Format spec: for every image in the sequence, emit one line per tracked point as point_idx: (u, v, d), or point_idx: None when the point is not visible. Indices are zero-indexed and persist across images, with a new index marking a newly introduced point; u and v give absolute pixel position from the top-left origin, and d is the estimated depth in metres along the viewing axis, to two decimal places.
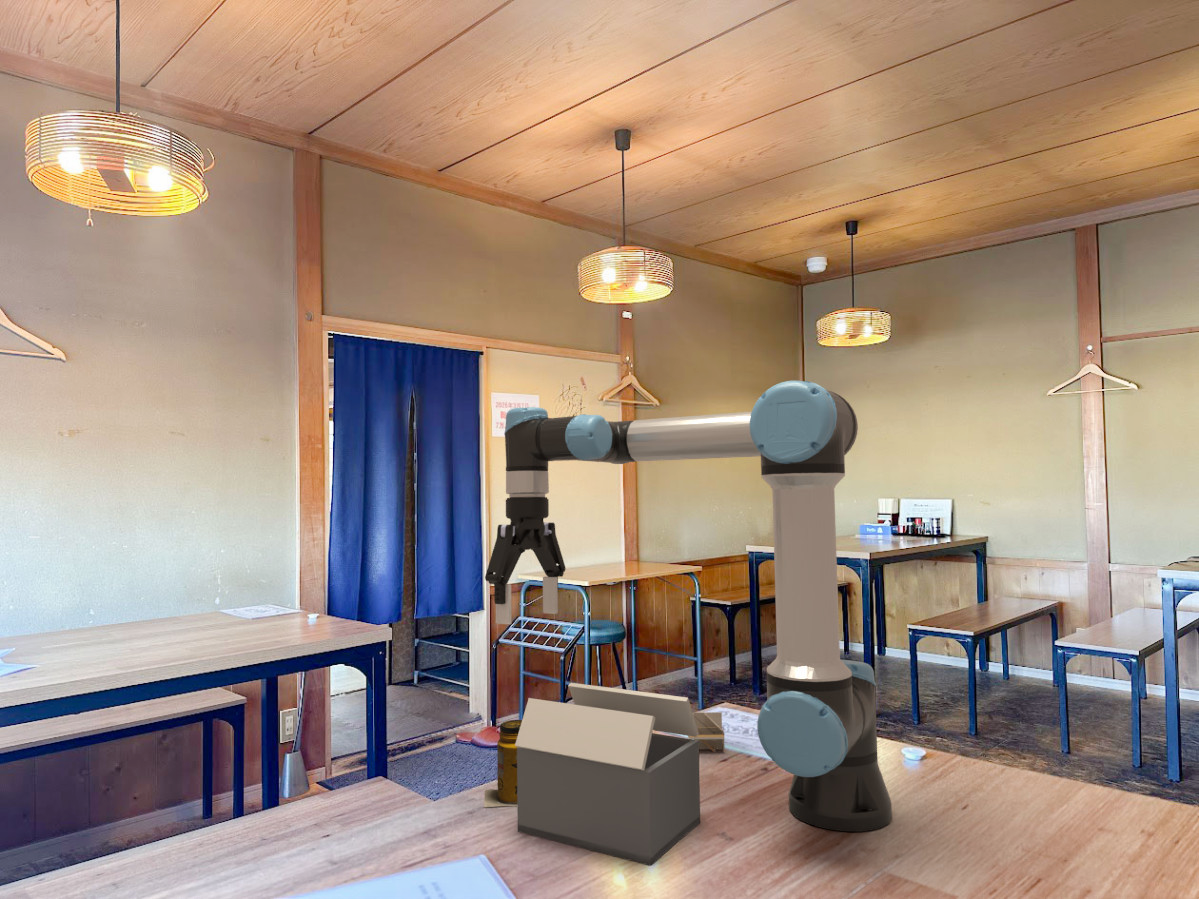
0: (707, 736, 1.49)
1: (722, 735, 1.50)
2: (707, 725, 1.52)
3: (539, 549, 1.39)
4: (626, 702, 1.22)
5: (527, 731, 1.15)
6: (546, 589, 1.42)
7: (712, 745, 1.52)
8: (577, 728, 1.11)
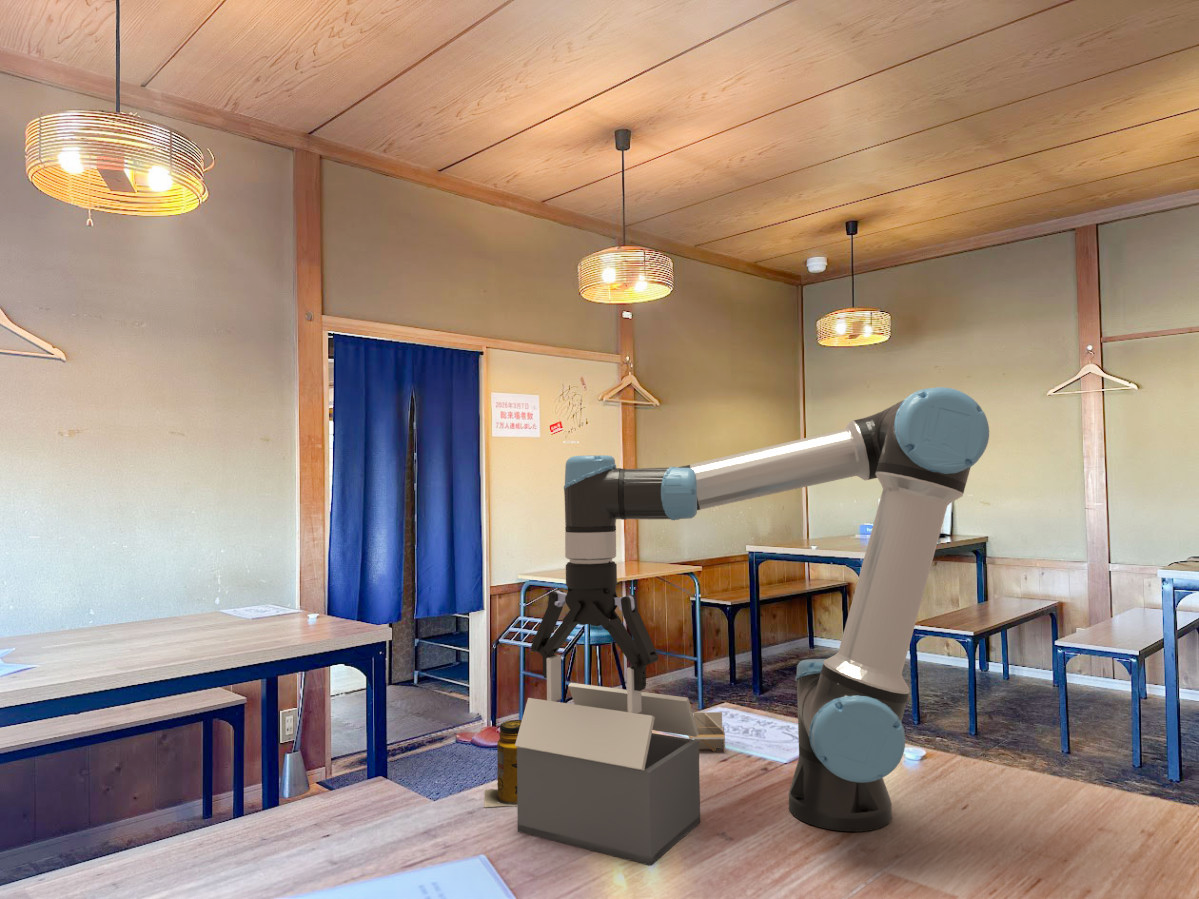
0: (708, 736, 1.49)
1: (722, 735, 1.50)
2: (707, 725, 1.52)
3: None
4: (626, 702, 1.22)
5: (527, 731, 1.15)
6: None
7: (712, 745, 1.52)
8: (577, 728, 1.11)
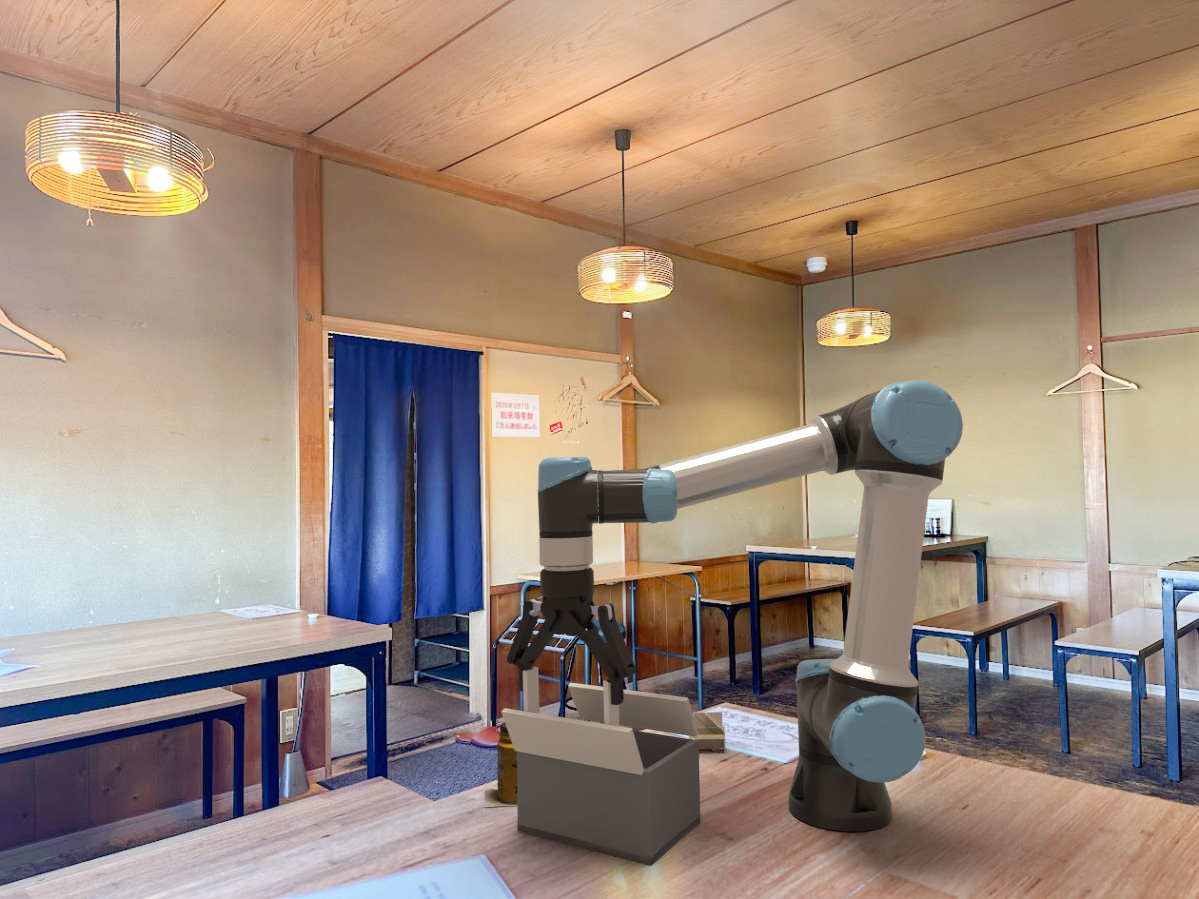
0: (708, 736, 1.49)
1: (723, 735, 1.50)
2: (708, 725, 1.52)
3: None
4: (626, 702, 1.22)
5: (518, 740, 1.13)
6: None
7: (712, 745, 1.52)
8: (563, 739, 1.08)
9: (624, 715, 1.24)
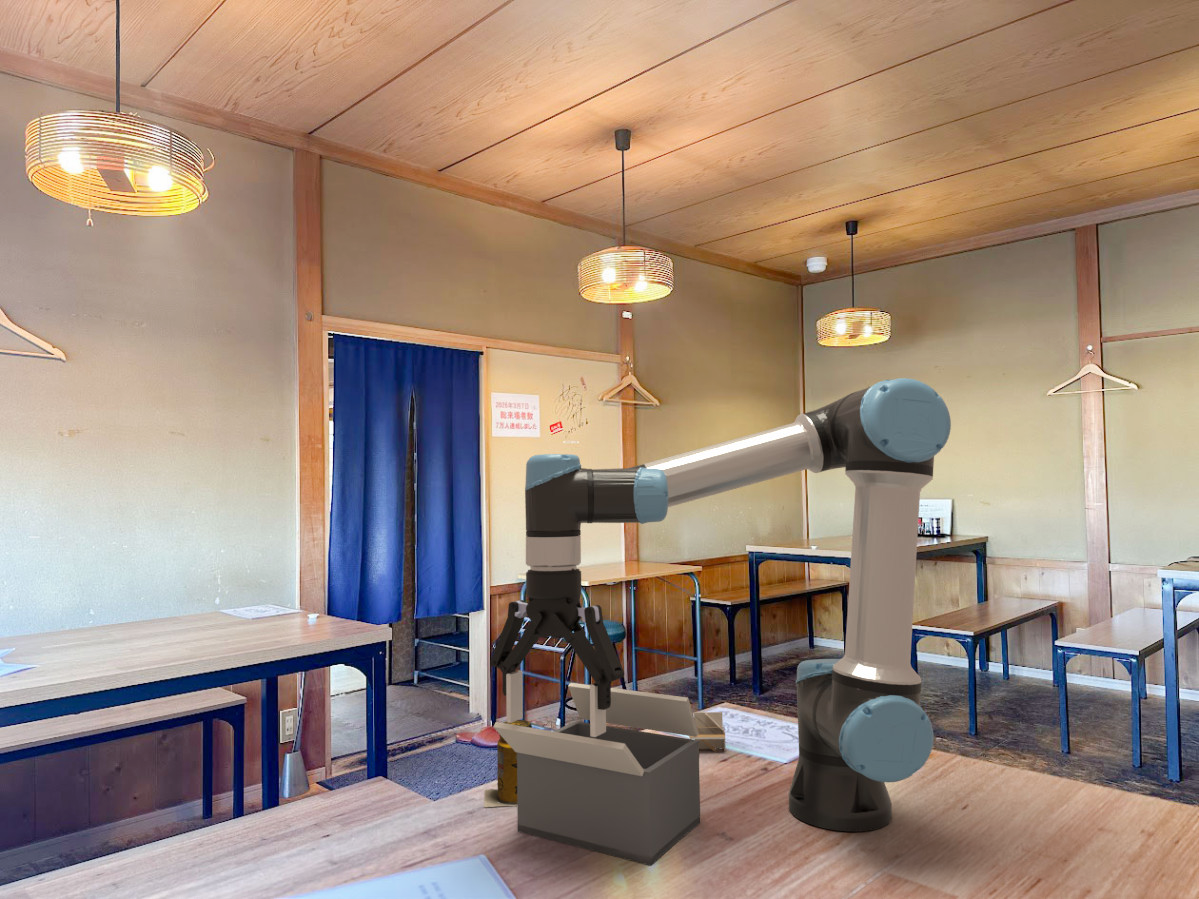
0: (708, 736, 1.49)
1: (723, 735, 1.50)
2: (708, 725, 1.52)
3: None
4: (626, 702, 1.22)
5: (516, 745, 1.12)
6: None
7: (713, 745, 1.52)
8: (559, 749, 1.07)
9: (624, 715, 1.24)
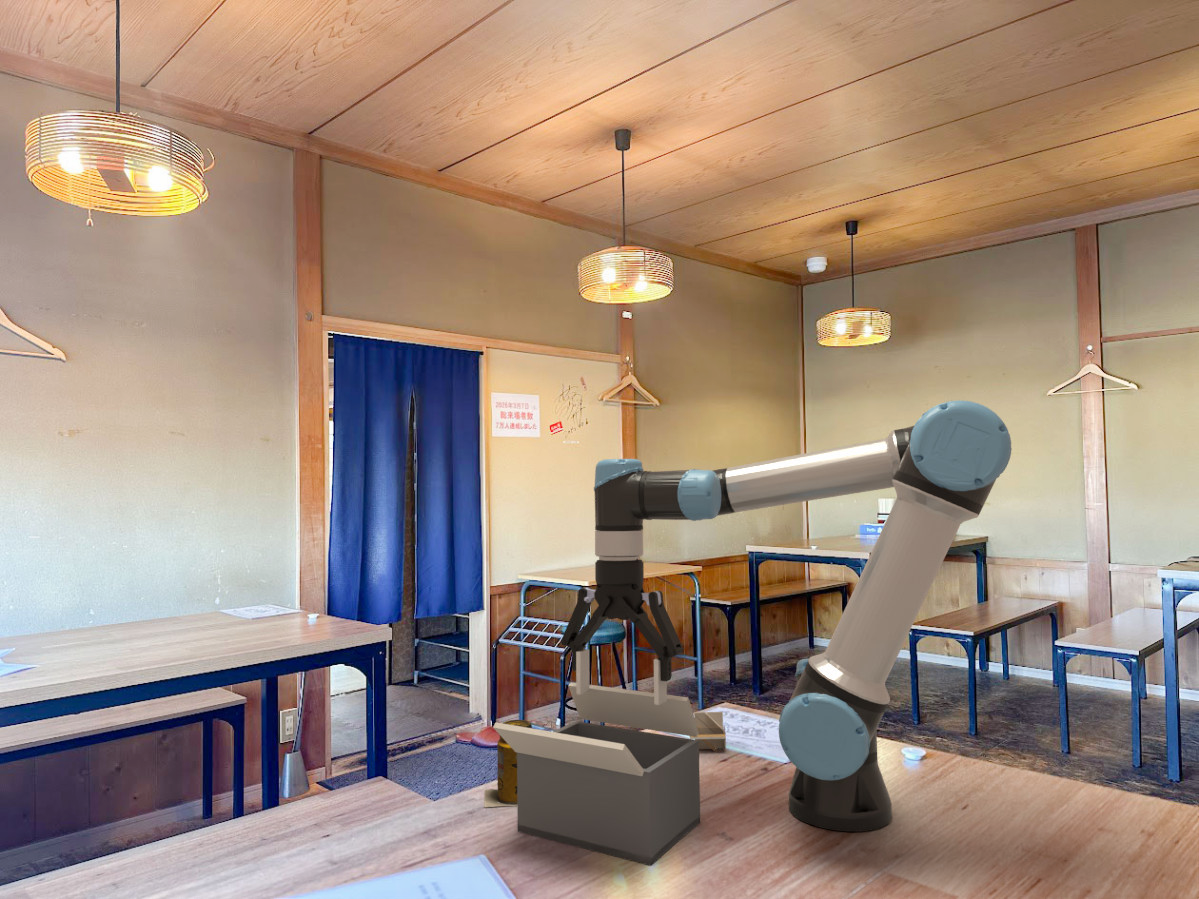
0: (708, 736, 1.49)
1: (723, 735, 1.50)
2: (708, 725, 1.52)
3: None
4: (626, 702, 1.22)
5: (516, 746, 1.12)
6: None
7: (713, 745, 1.52)
8: (559, 749, 1.07)
9: (624, 715, 1.24)
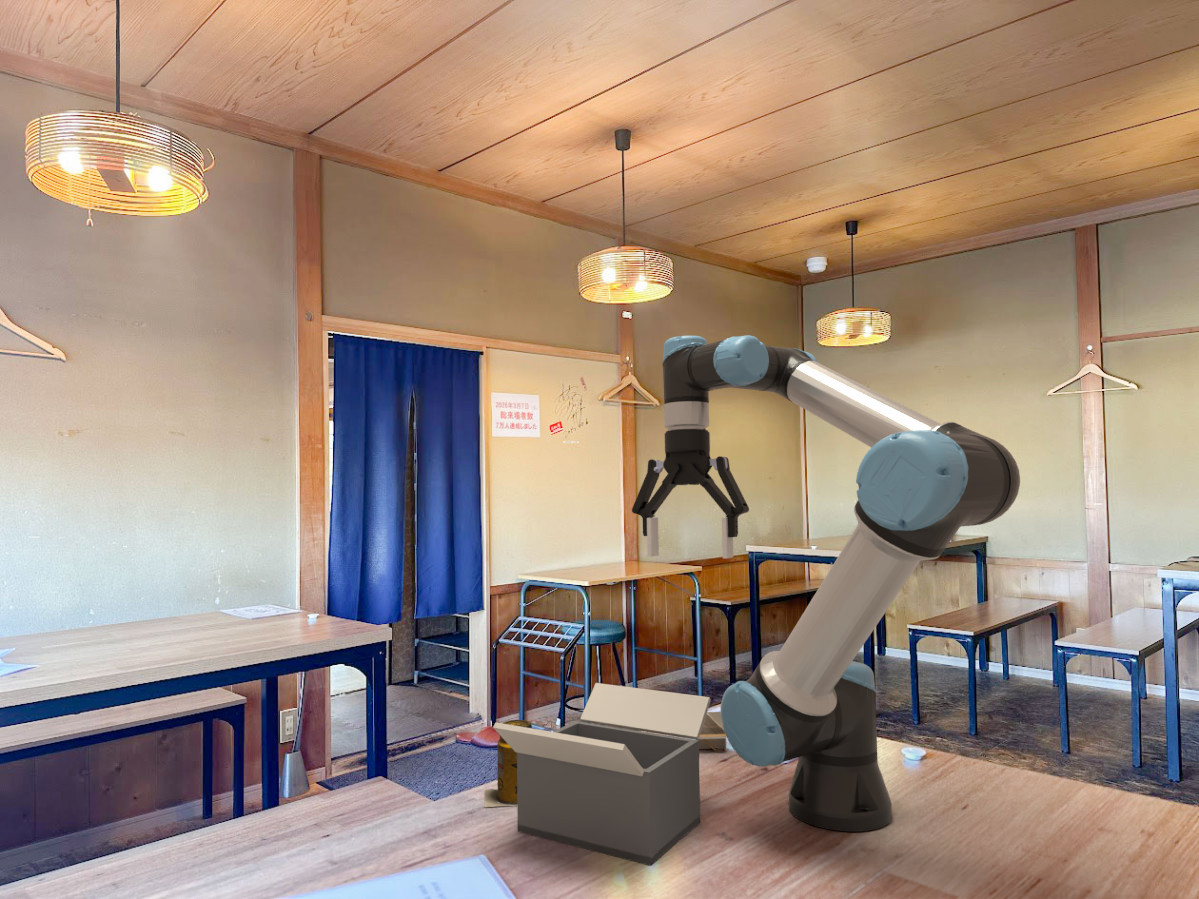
0: (709, 736, 1.50)
1: (724, 734, 1.50)
2: (709, 725, 1.52)
3: None
4: (645, 699, 1.28)
5: (516, 746, 1.12)
6: None
7: (714, 744, 1.52)
8: (559, 749, 1.07)
9: (632, 713, 1.26)
